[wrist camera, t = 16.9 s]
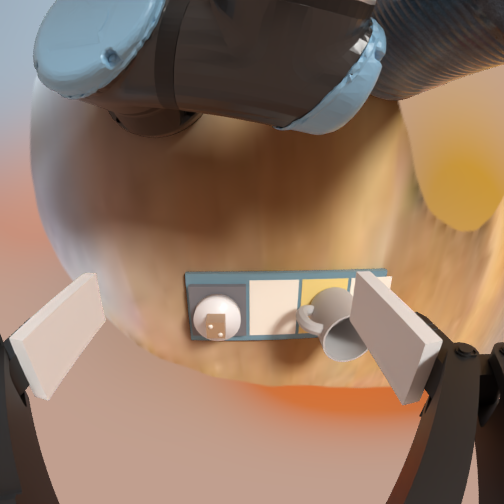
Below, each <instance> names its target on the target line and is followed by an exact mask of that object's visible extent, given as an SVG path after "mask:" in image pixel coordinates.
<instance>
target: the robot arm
mask: <svg viewBox="0 0 504 504" xmlns="http://www.w3.org/2000/svg"><path fill="white" fill-rule="evenodd" d="M375 4H376V0H56V1H55V3H54V4H53V5H52V7H51V8H50V9H49V11H48V13H47V14H46V16H45V17H44V20H43V21H42V23H41V25H40V28H39V30H38V33H37V36H36V40H35V44H34V51H33V59H34V67H35V69H36V70H37V73H38V78H39V79H40V81H41V82H42V83H43V84H44V85H45V86H46V87H48V88H49V89H51V90H54V91H56V92H58V94H60V95H61V96H62V97H64V98H68V99H77V100H80V101H84V102H87V103H90V104H93V105H96V106H99V107H101V108H104V109H107V110H108V111H109V113H110V115H111V116H112V118H113V119H114V120H115V121H116V123H117V124H119V125H120V126H121V127H122V128H124V129H125V130H127V131H129V132H131V133H134V134H137V135H141V136H145V137H164V136H169V135H172V134H175V133H178V132H180V131H182V130H184V129H186V128H187V127H189V126H190V125H191V124H193V123H194V122H195V121H196V120H197V119H198V118H199V117H200V116H201V115H202V114H203V113H204V114H211V115H217V116H224V117H230V118H235V119H241V120H246V121H252V122H257V123H262V124H267V125H271V126H272V127H273V128H274V129H277V130H295V131H300V132H304V133H309V134H314V135H323V134H326V133H330V132H334V131H336V130H338V129H340V128H341V127H343V126H344V125H345V124H346V123H348V122H349V121H350V120H351V119H352V118H353V117H354V116H355V115H356V113H357V112H358V111H359V110H360V108H361V107H362V106H363V104H364V103H365V101H366V100H367V98H368V97H369V95H370V93H371V91H372V90H373V88H374V86H375V84H376V82H377V79H378V77H379V74H380V72H381V68H382V65H381V63H380V61H381V59H382V58H383V56H384V55H385V53H386V36H385V32H384V29H383V28H382V26H381V25H380V24H378V23H377V21H376V20H375V19H374V18H371V15H372V12H373V9H374V7H375ZM105 321H106V320H105V315H104V311H103V306H102V301H101V296H100V291H99V286H98V280H97V275H96V273H84V274H82V275H81V276H80V277H79V278H77V279H76V280H75V281H74V282H72V283H71V284H70V285H69V286H67V287H66V288H65V289H64V290H63V291H62V292H60V293H59V294H58V295H57V296H55V297H54V298H53V299H52V300H51V301H50V302H48V303H47V304H46V305H45V306H44V307H43V308H41V309H40V310H39V311H38V312H37V313H36V314H35V315H34V316H32V317H31V318H29V319H28V320H27V321H26V322H25V323H24V324H23V325H22V326H21V327H19V329H17V330H16V331H15V332H14V333H13V334H12V335H11V336H10V337H9V338H8V339H6V340H5V341H4V342H3V340H2V337H1V335H0V504H59V502H58V499H57V497H56V494H55V492H54V489H53V486H52V484H51V481H50V478H49V475H48V472H47V470H46V466H45V463H44V460H43V457H42V453H41V450H40V446H39V442H38V439H37V435H36V431H35V427H34V423H33V418H32V413H31V408H30V402H29V397H28V395H27V393H26V391H25V390H26V389H27V387H28V386H30V388H31V389H32V392H33V394H34V396H35V397H39V398H42V399H45V400H49V399H50V398H51V396H52V395H53V393H54V392H55V390H56V389H57V387H58V386H59V384H60V383H61V381H62V380H63V378H64V377H65V376H66V374H67V373H68V371H69V370H70V368H71V367H72V366H73V364H74V363H75V361H76V360H77V358H78V357H79V356H80V354H81V353H82V351H83V350H84V349H85V347H86V346H87V345H88V343H89V342H90V341H91V339H92V338H93V337H94V335H95V334H96V333H97V331H98V330H99V329H100V327H101V326H102V325H103V323H104V322H105ZM350 322H351V323H352V325H353V326H354V328H355V329H356V331H357V333H358V334H359V336H360V337H361V339H362V340H363V342H364V343H365V345H366V347H367V348H368V350H369V351H370V353H371V355H372V356H373V358H374V359H375V361H376V363H377V364H378V366H379V367H380V369H381V371H382V372H383V374H384V375H385V377H386V379H387V380H388V382H389V384H390V385H391V387H392V389H393V390H394V392H395V394H396V395H397V397H398V398H399V400H400V401H401V404H402V405H406V404H410V403H414V402H418V401H419V400H420V398H421V396H422V394H423V391H424V389H425V390H426V391H427V393H428V394H429V397H428V399H427V401H426V403H425V406H424V408H423V410H422V412H421V414H420V416H421V420H420V424H419V426H418V429H417V432H416V435H415V438H414V440H413V443H412V446H411V448H410V451H409V454H408V456H407V459H406V461H405V464H404V466H403V468H402V471H401V473H400V475H399V477H398V480H397V482H396V484H395V486H394V488H393V490H392V492H391V494H390V496H389V498H388V501H387V502H386V504H461V502H462V499H463V495H464V491H465V488H466V483H467V479H468V474H469V470H470V465H471V460H472V453H473V448H474V441H475V447H476V455H477V467H478V486H479V504H504V343H503V342H500V343H496V344H495V345H494V347H493V349H492V352H491V354H479V352H478V351H477V350H476V349H475V348H474V347H473V346H471V345H469V344H466V343H460V342H458V343H453V342H452V341H451V340H450V339H449V338H448V337H447V336H446V335H445V334H444V333H443V332H442V331H441V330H440V329H438V328H437V327H436V326H435V325H434V324H433V323H432V322H431V321H430V320H429V319H428V318H427V317H426V316H424V315H422V314H420V313H418V312H414V311H412V310H411V309H410V308H409V307H408V306H407V305H406V304H405V303H404V302H403V301H402V300H401V299H400V298H399V297H398V296H397V295H396V294H394V293H393V292H392V291H391V290H390V289H389V288H388V287H387V286H386V285H385V284H384V283H383V282H381V281H380V280H379V279H378V278H377V277H376V276H375V275H374V274H373V273H371V272H370V271H358V272H356V279H355V286H354V294H353V300H352V307H351V314H350ZM499 398H500V399H499Z"/></svg>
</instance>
